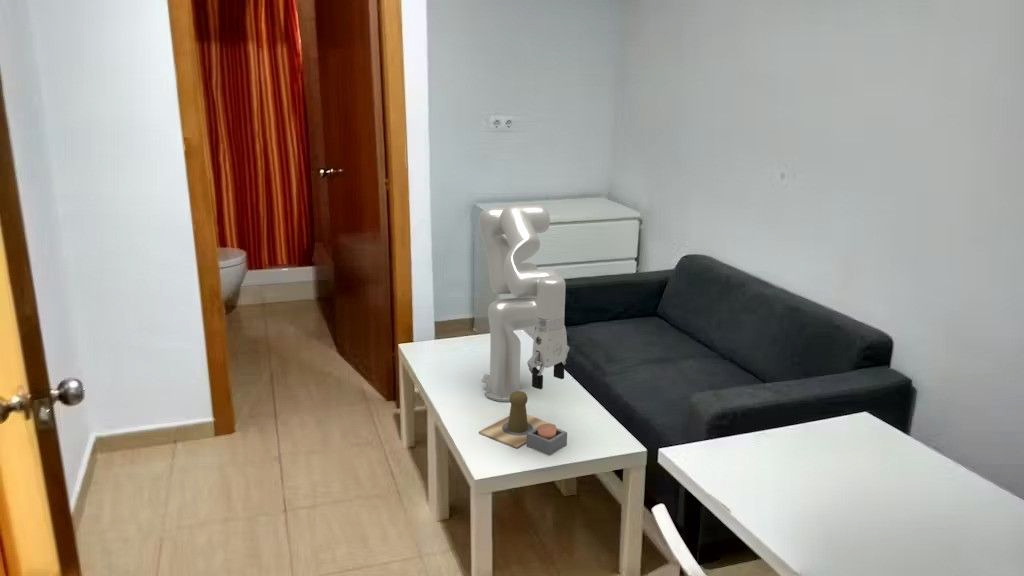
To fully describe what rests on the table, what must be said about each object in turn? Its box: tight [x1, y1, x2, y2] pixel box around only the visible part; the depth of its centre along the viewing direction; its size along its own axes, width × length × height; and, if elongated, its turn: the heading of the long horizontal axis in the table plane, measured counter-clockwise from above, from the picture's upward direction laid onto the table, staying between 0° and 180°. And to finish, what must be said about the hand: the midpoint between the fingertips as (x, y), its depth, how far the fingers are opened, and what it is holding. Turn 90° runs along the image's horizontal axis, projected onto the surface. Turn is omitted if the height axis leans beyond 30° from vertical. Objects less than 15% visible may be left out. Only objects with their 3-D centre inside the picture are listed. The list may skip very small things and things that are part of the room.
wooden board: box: [478, 414, 556, 450], centre depth 226 cm, size 14×18×1 cm
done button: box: [538, 423, 557, 440], centre depth 217 cm, size 5×5×3 cm
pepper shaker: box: [507, 391, 529, 433], centre depth 225 cm, size 6×6×11 cm
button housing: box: [525, 427, 568, 456], centre depth 217 cm, size 8×8×4 cm
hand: (548, 382), depth 212 cm, fingers open, 9 cm apart
